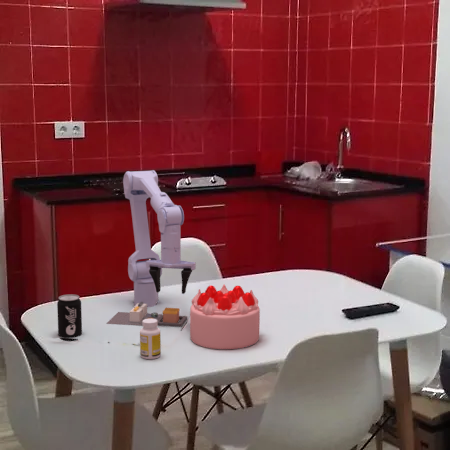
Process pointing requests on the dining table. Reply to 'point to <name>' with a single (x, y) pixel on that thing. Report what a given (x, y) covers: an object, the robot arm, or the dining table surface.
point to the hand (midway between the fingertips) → (171, 292)
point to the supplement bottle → (150, 339)
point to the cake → (224, 318)
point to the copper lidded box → (171, 315)
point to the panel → (124, 319)
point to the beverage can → (69, 317)
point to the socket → (180, 324)
